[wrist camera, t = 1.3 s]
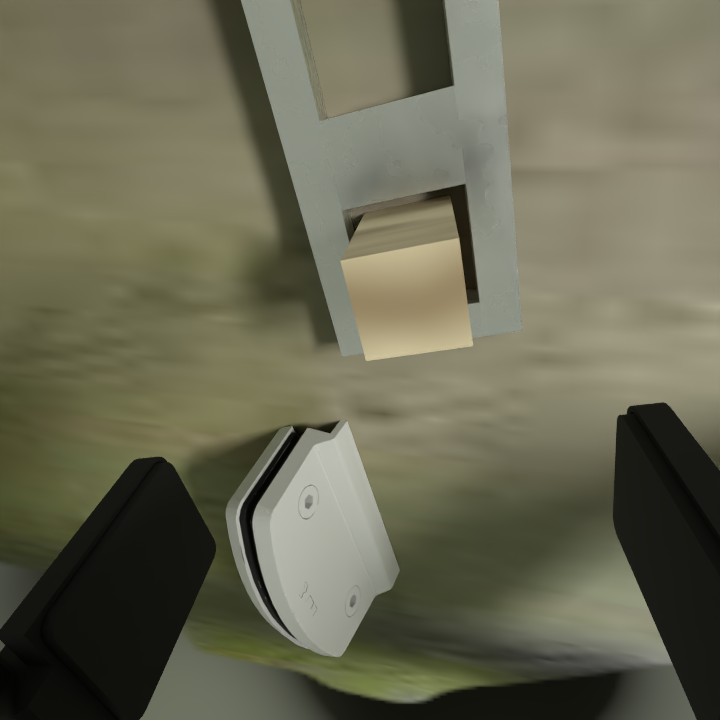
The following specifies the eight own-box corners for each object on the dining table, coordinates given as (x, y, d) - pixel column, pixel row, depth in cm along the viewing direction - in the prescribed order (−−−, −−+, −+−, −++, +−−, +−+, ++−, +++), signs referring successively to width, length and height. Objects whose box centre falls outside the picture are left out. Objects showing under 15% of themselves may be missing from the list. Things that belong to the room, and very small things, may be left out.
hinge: (401, 573, 39) (346, 698, 32) (353, 560, 42) (292, 674, 34) (345, 416, 32) (257, 533, 24) (291, 411, 34) (196, 517, 27)
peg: (461, 277, 26) (473, 346, 19) (381, 291, 27) (366, 360, 20) (449, 194, 24) (459, 238, 17) (364, 213, 25) (340, 260, 18)
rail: (516, 315, 26) (523, 333, 24) (347, 340, 29) (341, 359, 27) (437, -693, 12) (439, -841, 10) (120, -492, 15) (72, -582, 13)
